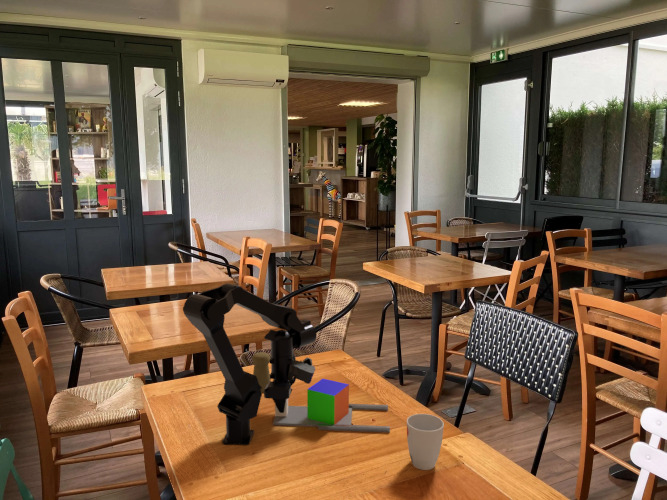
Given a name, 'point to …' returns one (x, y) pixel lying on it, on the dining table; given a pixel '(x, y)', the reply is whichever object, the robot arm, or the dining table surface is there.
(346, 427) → the lane rails
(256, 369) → the cork
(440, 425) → the cup
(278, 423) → the grey panel with knob
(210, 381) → the dining table surface
